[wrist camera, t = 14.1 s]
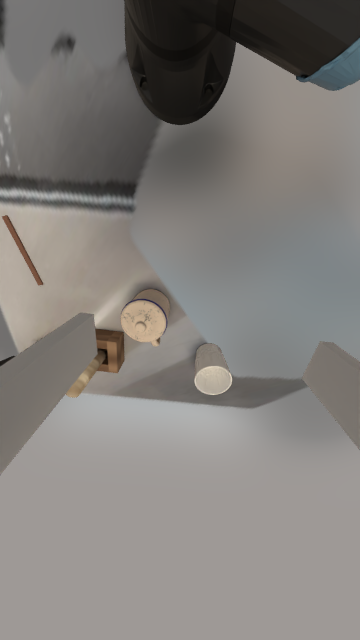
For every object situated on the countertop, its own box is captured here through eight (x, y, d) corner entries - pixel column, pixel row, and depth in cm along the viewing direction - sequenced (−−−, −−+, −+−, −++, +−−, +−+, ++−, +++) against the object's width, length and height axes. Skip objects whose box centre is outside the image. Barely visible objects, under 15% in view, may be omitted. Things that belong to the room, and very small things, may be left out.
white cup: (202, 370, 50) (205, 399, 41) (188, 349, 47) (187, 375, 38) (228, 358, 48) (238, 386, 39) (215, 335, 45) (221, 360, 36)
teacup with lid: (127, 292, 42) (106, 310, 31) (165, 283, 40) (156, 299, 30) (144, 336, 46) (130, 366, 36) (178, 330, 45) (174, 358, 34)
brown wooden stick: (3, 216, 36) (1, 216, 36) (7, 215, 36) (6, 215, 36) (39, 285, 42) (38, 285, 42) (43, 284, 42) (42, 284, 41)
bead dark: (88, 328, 46) (77, 337, 41) (123, 332, 46) (116, 342, 41) (91, 356, 50) (81, 368, 45) (124, 360, 50) (117, 373, 45)
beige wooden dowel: (101, 339, 47) (62, 384, 33) (112, 340, 47) (78, 386, 33) (102, 349, 48) (64, 396, 34) (113, 350, 48) (80, 398, 34)
